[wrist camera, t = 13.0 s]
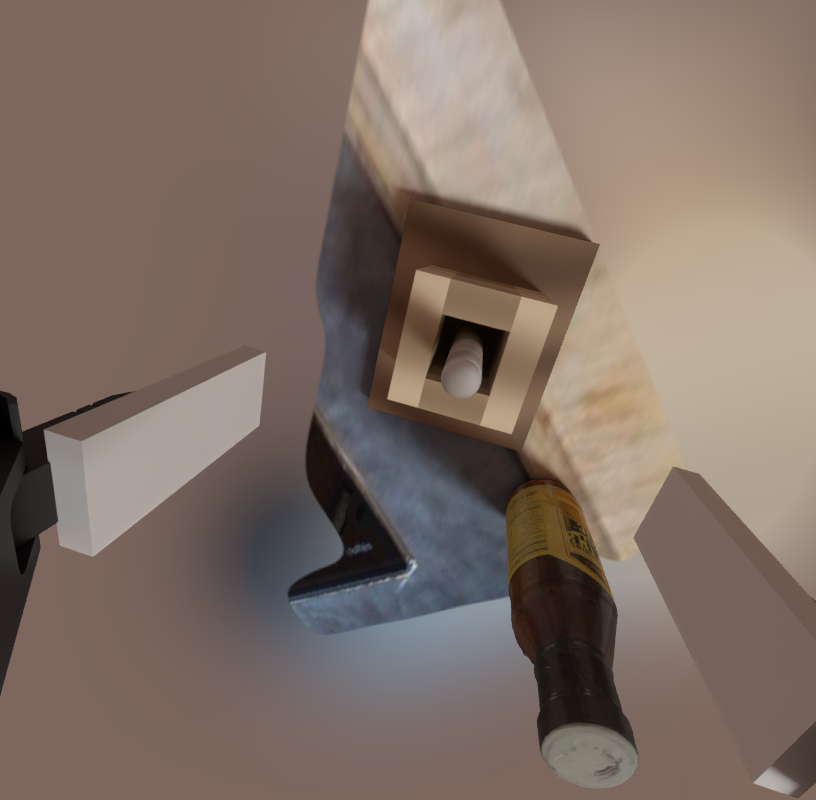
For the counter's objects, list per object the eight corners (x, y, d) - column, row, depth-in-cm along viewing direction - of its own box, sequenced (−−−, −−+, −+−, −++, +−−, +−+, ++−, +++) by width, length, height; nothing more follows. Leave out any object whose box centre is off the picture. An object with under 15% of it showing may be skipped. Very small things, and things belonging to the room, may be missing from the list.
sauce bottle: (587, 526, 36) (690, 815, 18) (517, 541, 38) (544, 817, 19) (566, 462, 34) (655, 708, 16) (493, 481, 36) (499, 721, 18)
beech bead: (431, 265, 29) (416, 270, 23) (542, 292, 29) (558, 305, 22) (407, 369, 32) (387, 399, 26) (506, 396, 32) (511, 434, 25)
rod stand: (413, 201, 30) (359, 167, 17) (594, 244, 29) (677, 241, 16) (371, 401, 36) (309, 483, 23) (519, 443, 35) (537, 554, 22)
